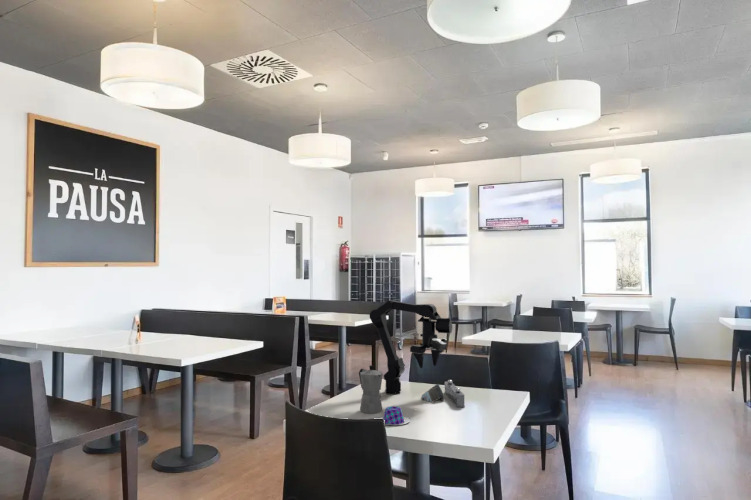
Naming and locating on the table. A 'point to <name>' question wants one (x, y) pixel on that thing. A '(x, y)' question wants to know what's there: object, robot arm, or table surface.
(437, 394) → the chocolate cake
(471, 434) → the table surface
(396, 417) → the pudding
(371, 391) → the coffeepot
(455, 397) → the stop rail
